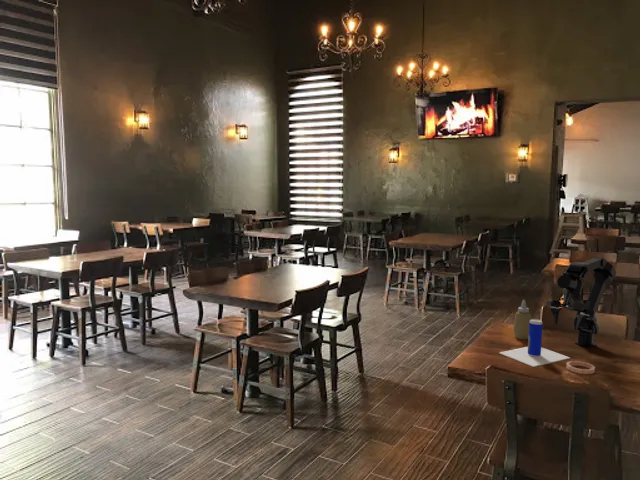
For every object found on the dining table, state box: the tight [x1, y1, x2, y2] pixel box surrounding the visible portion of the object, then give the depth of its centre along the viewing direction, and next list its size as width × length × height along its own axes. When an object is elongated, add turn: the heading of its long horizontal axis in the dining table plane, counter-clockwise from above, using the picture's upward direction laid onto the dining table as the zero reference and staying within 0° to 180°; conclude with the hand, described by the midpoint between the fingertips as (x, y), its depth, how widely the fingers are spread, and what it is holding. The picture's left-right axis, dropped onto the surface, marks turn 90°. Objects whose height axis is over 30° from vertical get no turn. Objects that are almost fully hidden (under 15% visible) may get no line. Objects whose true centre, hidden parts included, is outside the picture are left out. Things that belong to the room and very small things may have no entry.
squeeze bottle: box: [512, 299, 532, 340], centre depth 248 cm, size 8×8×18 cm
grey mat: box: [498, 346, 571, 368], centre depth 225 cm, size 22×18×1 cm
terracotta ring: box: [565, 360, 596, 375], centre depth 210 cm, size 10×10×2 cm
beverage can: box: [527, 318, 544, 357], centre depth 224 cm, size 5×5×15 cm
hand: (566, 327), depth 227 cm, fingers open, 9 cm apart
